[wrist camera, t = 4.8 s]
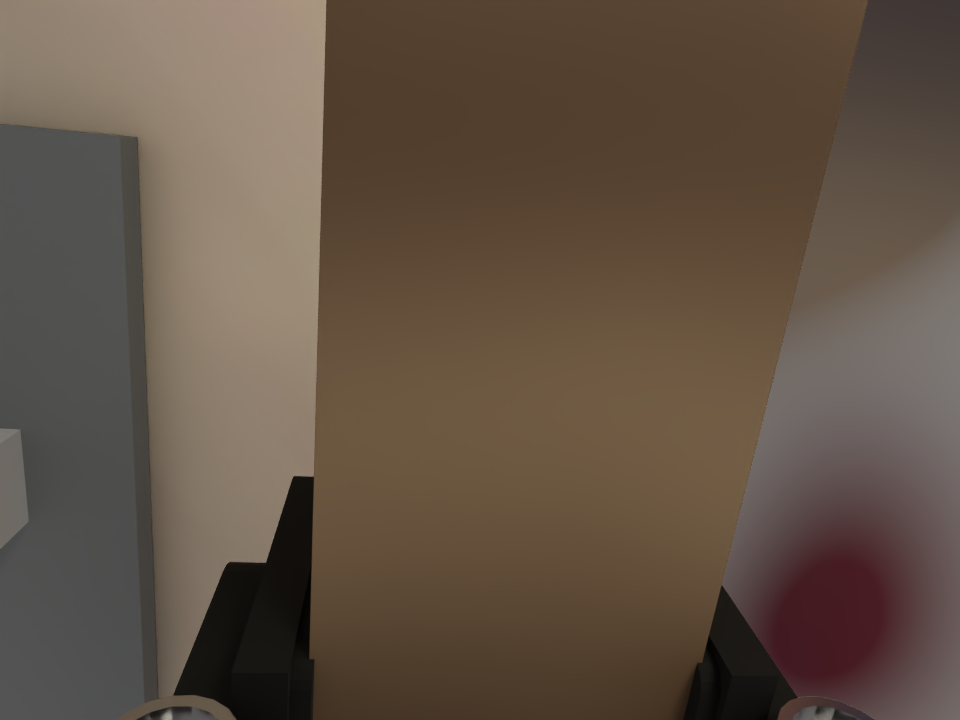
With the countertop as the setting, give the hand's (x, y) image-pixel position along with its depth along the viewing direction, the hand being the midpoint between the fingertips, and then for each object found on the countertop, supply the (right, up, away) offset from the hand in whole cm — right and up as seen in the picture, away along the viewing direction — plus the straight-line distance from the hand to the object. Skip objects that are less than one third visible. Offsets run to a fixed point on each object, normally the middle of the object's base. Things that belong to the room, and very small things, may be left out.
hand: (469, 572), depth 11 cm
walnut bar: (0, 0, 0) cm, 1 cm away
